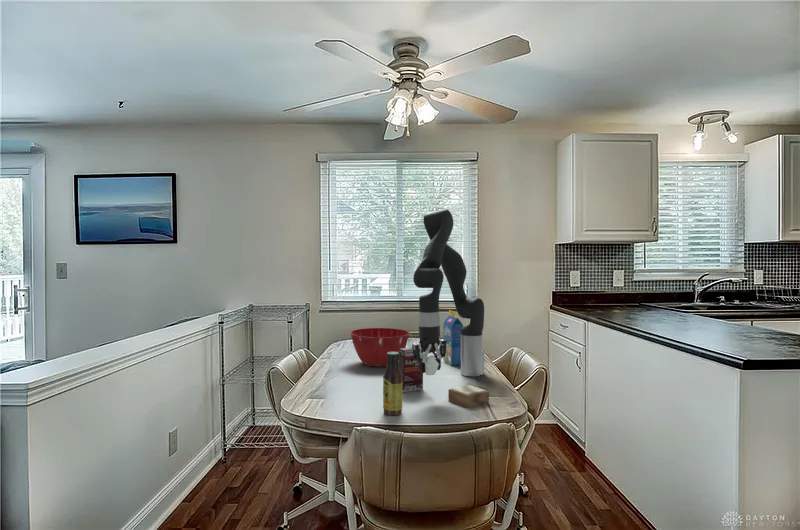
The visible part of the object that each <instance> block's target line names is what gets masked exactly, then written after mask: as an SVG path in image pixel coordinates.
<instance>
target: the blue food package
mask: <svg viewBox="0 0 800 530" xmlns="http://www.w3.org/2000/svg"><path fill="white" fill-rule="evenodd" d="M442 327H443V333H442V334H443V336H442V337H443V339H442V340H445V341H447V344H446V355H445V357H443V358H442V359H443V361H444V363H446V364H448V365H450V366H451V367H453V366H457V365H458V366H461V328H462V327H464V325H463V323H462V321H461V320H460V319H459V318H458V312H457V311H453V310H451V309H449V310H448V316H447V317H446V318H445V319H444V322H443V326H442Z"/></svg>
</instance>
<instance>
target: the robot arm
mask: <svg viewBox="0 0 800 530" xmlns="http://www.w3.org/2000/svg"><path fill="white" fill-rule="evenodd" d="M422 220H423V221H422V222H423V226H424V229H425V231H426V234H427V236H428V237H429V240H430V241H428V243H427V245H426V247H425V249H424V251H423V256H422V260H421V262H420V263H419V264H418V266H417V268H416V269H415V271H414V273H413V279H412V280H413V283H414V286H416V288H419V289H432V291H431V292H430V293H427V294H426V293H425V294H423V295H420V296H419V298H418V310H419V313H418V337H419V341H418V343H413V344H411V348H412V349H413V356H414V360H415V361H418V362H419V371H420V372H421V373H423V374H425V359H426V357H427V356H428V355H429V354H431V353H432V355H433V356H434V357H435V360H436V361H437V362H438V363H439V366H438V369H437V371H440V370H441V368H442V359H443V357H445V355H446V344H447V341H445V340H443V339H440V337H441V317H440V302H439V301H440V296H441V295H440V294H441V291H442V286H443V283H444V276H445V278H446V281H447V283H448V287H449V288H450V292H451V295H452V299H453V302H454V306H455V309H456V312H457V315H458V316H459V317H460V318H463V319H469V324H467V325H466V326H463V327H462V328H461V365H460V375H462V376H465V377H481V376H482V375H484V374H485V352H484V351H483V332H484V331H483V330H484V322H485V303H484V301H483V299H481V298H480V297H469V296H467V294H466V292H465V289H464V287H465V286H464V285H465V281H466V279H467V273H468V271H467V267H466V264H465V261H464V258H463V257H462V256H461V254H460V253H459V252H458V251H457V250H456V249H454V248H452V247H451V246H450V245H449V244H448V242H449V238H450V237H451V234H452V232H453V230H454V217H453V214H452V212H451V211H450V210H449V209H440V210H435V211H432V212H428V213H425V214H424V216H423V219H422ZM440 268H442V269H440ZM420 348H421V350H420V351H419V349H420ZM480 375H481V376H480Z"/></svg>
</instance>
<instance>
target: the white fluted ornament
mask: <svg viewBox="0 0 800 530" xmlns="http://www.w3.org/2000/svg"><path fill="white" fill-rule="evenodd" d="M435 359H436V358H435V356H434V355H433V354H432V355H431V354H428V356H427V357H426V359H425V373H424V374H425V375H426V376H434V375H435V374H436V373H437V371H438V370H437V369H438V366H439V363H438V362H437V361H436V360H435Z"/></svg>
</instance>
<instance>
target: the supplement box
mask: <svg viewBox="0 0 800 530" xmlns="http://www.w3.org/2000/svg"><path fill="white" fill-rule="evenodd" d="M420 350H421V347H420V349H419V351H420ZM399 368H400V370H401V372H402V393H407V392H409V393H410V392H416V390H417V391H422V390H424V373H421V372H420V371H419V362H418V361H415V360H414V356H413V349H412V347H405V348H402V349H399Z"/></svg>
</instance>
